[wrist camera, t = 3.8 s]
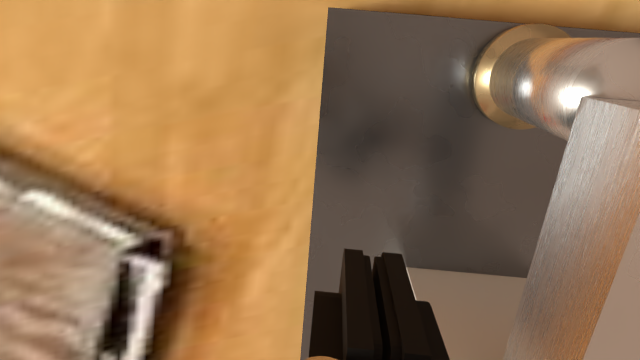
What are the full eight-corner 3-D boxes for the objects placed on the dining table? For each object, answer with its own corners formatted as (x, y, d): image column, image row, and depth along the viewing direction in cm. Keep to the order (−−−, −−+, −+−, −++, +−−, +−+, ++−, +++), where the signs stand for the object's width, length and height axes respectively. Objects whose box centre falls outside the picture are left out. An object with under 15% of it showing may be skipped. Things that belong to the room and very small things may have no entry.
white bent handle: (483, 19, 15) (676, -5, 7) (587, 28, 15) (919, 15, 7) (421, 325, 20) (484, 544, 12) (500, 333, 20) (624, 558, 11)
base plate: (329, 12, 18) (328, 7, 16) (677, 41, 18) (739, 41, 15) (300, 377, 26) (295, 419, 23) (546, 400, 26) (572, 445, 23)
